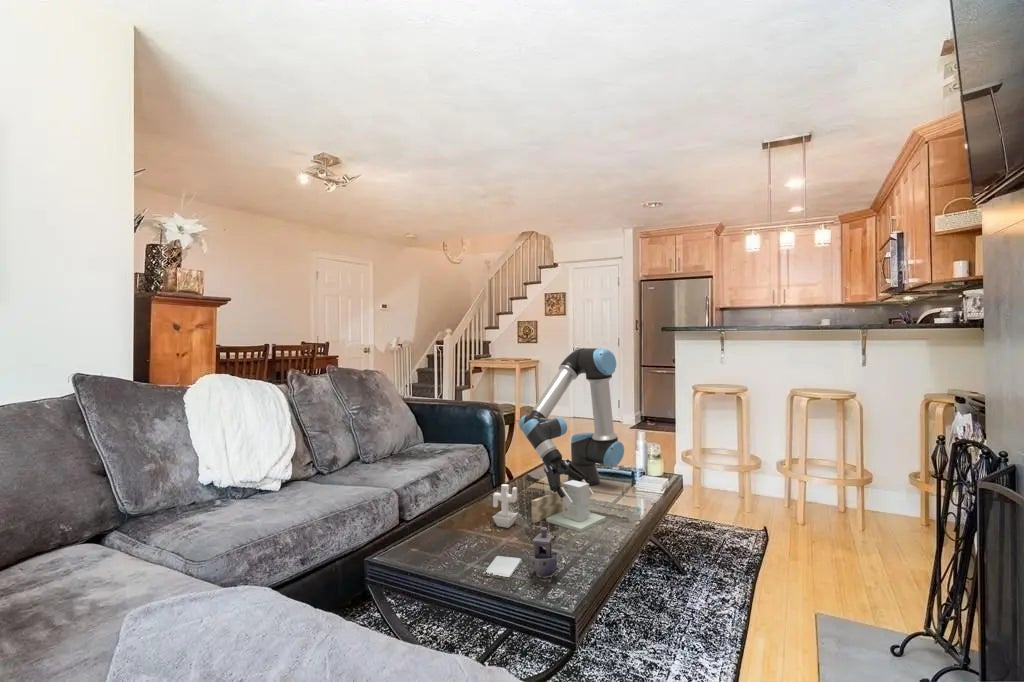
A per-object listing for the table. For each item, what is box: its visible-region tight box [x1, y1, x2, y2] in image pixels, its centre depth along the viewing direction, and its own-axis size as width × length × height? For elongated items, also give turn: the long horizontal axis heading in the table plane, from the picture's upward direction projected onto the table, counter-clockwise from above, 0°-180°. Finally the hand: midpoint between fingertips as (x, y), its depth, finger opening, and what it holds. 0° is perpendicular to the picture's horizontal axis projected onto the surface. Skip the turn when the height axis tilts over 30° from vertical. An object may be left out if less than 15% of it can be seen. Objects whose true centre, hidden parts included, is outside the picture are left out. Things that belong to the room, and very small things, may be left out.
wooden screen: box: [531, 491, 563, 524], centre depth 199 cm, size 24×2×8 cm, turn 137°
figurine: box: [491, 483, 518, 529], centre depth 188 cm, size 7×9×15 cm
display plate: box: [545, 511, 607, 533], centre depth 192 cm, size 16×16×1 cm
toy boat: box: [528, 526, 560, 579], centre depth 148 cm, size 15×8×13 cm, turn 164°
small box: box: [562, 480, 591, 522], centre depth 191 cm, size 8×6×13 cm
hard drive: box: [485, 555, 523, 577], centre depth 152 cm, size 2×8×12 cm
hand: (580, 499), depth 190 cm, fingers open, 13 cm apart
